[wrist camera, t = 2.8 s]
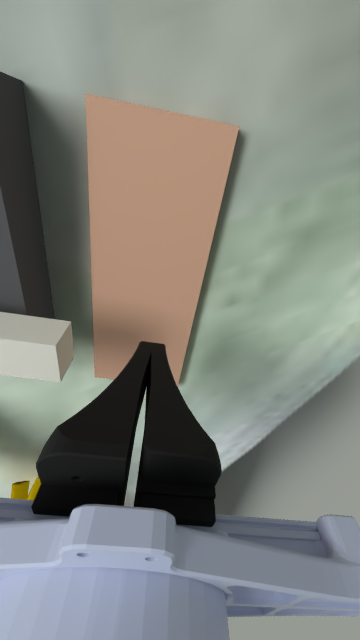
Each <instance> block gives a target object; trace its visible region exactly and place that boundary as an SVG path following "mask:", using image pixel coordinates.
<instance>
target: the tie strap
mask: <svg viewBox="0 0 360 640" xmlns="http://www.w3.org/2000/svg"><path fill="white" fill-rule="evenodd" d="M73 358H74V347H73V336H72V325H71V321H64V320H57V319H49V318H42V317H35V316H27V315H20V314H13V313H6V312H0V375H3V376H12V377H20V378H29V379H38V380H46V381H55V382H61V381H62V379H63V377H64V375H65V373H66V371H67V369H68V367H69V365H70V364H71V362H72V360H73Z"/></svg>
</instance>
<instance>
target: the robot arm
mask: <svg viewBox="0 0 360 640" xmlns="http://www.w3.org/2000/svg"><path fill="white" fill-rule="evenodd" d="M146 386H147V390H146ZM145 390H146V411H145V427H144V436H143V443H142V450H141V457H140V465H139V472H138V479H137V486H136V493H135V500H134V507H128V506H124V501H125V495H126V489H127V482H128V476H129V470H130V463H131V457H132V451H133V444H134V438H135V432H136V427H137V422H138V418H139V414H140V410H141V406H142V402H143V398H144V394H145ZM36 469H37V472H38V476H39V479H40V482H41V485H40V487H39V490H38V492H37V494H36V497H35V499H34V500H23V499H10V498H0V640H230V639H229V629H228V618H227V617H250V616H251V617H252V616H353V617H354V616H358V615H360V528H359V526H358V524H357V522H356V520H355V518H354V517H352V516H342V515H324V516H321V517H320V518H319V519H318V520H317V521H316V522H307V521H294V520H281V519H269V518H256V517H242V516H230V515H229V516H228V515H216V514H215V505H214V499H215V496H216V495H215V485H216V483H217V481H218V479H219V477H220V475H221V472H222V470H221V463H220V459H219V455H218V451H217V448H216V445H215V443H214V442H213V440H212V439H211V438H210V437H209V436H208V435H207V433H206V432H205V431H204V430H203V428H202V427H201V426H200V424H199V423H198V422H197V420H196V419H195V417H194V416H193V414H192V412H191V411H190V409H189V408H188V406H187V404H186V403H185V401H184V399H183V397H182V395H181V393H180V391H179V389H178V387H177V385H176V382H175V380H174V377H173V375H172V372H171V369H170V366H169V363H168V359H167V354H166V347H165V345H164V344H161V343H153V342H146V341H141V342H140V343H139V345H138V347H137V349H136V351H135V353H134V354H133V356H132V357H131V359H130V360H129V362H128V363H127V365H126V366H125V367H124V369H123V370H122V371H121V372H120V374H119V375H118V376H117V377H116V378H115V379H114V381H113V382H112V383H111V384H110V385H109V386H108V387H107V388H106V389H105V390H104V391H103V392H102V393H101V394H100V395H99V396H98V397H96V398H95V399H94V400H93V401H92V402H91V403H89V404H88V405H87V406H86V407H84V408H83V409H82V410H81V411H79V412H78V413H77V414H75V415H74V416H72V417H71V418H69V419H68V420H66V421H65V422H63V423H62V424H60V425H59V426H57V428H56V429H55V430H54V432H53V433H52V435H51V436H50V438H49V439H48V441H47V442H46V444H45V446H44V448H43V450H42V452H41V454H40V456H39V458H38V461H37V463H36Z"/></svg>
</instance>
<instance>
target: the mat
mask: <svg viewBox="0 0 360 640" xmlns="http://www.w3.org/2000/svg"><path fill="white" fill-rule="evenodd" d="M86 123H87V154H88V184H89V215H90V245H91V276H92V307H93V337H94V368H95V377H100V378H108V379H115V378H116V377H117V376H118V375H119V374H120V372H121V371H122V370H123V369H124V367H125V366H126V365H127V363H128V362H129V360H130V359H131V357H132V356H133V354H134V353H135V351H136V349H137V347H138V345H139V343H140V342H141V341H146V342H153V343H161V344H164V345H165V347H166V354H167V359H168V363H169V366H170V369H171V372H172V375H173V377H174V380H175V382H176V385H177V387H178V383H179V379H180V375H181V371H182V366H183V362H184V358H185V354H186V349H187V345H188V341H189V337H190V333H191V328H192V324H193V320H194V316H195V311H196V307H197V303H198V299H199V295H200V290H201V286H202V282H203V278H204V274H205V269H206V265H207V261H208V257H209V252H210V248H211V244H212V240H213V236H214V231H215V227H216V223H217V219H218V214H219V210H220V206H221V202H222V198H223V193H224V189H225V185H226V181H227V176H228V172H229V168H230V164H231V160H232V155H233V151H234V147H235V143H236V139H237V134H238V130H239V126H235V125H230V124H225V123H221V122H216V121H211V120H207V119H202V118H197V117H193V116H188V115H183V114H178V113H174V112H169V111H164V110H160V109H155V108H150V107H146V106H141V105H136V104H131V103H127V102H122V101H117V100H113V99H108V98H103V97H99V96H94V95H89V94H86Z"/></svg>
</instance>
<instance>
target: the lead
mask: <svg viewBox="0 0 360 640" xmlns="http://www.w3.org/2000/svg"><path fill="white" fill-rule="evenodd" d="M0 312H6V313H13V314H20V315H27V316H35V317H42V318H49V319H55V318H54V311H53V304H52V296H51V289H50V281H49V274H48V267H47V259H46V252H45V245H44V237H43V230H42V222H41V215H40V208H39V200H38V193H37V186H36V178H35V171H34V163H33V156H32V149H31V141H30V134H29V127H28V119H27V112H26V104H25V97H24V90H23V82H22V81H21V80H19V79H16V78H14V77H12V76H9V75H7V74H5V73H2V72H0Z"/></svg>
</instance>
